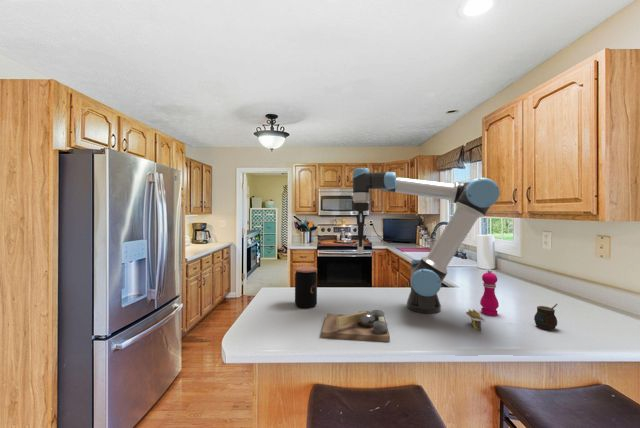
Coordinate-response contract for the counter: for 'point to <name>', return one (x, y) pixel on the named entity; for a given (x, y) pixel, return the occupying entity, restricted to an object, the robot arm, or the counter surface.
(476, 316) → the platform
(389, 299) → the counter surface
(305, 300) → the coffee jar
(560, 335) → the counter surface
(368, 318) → the ball-head mallet
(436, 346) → the counter surface
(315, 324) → the counter surface
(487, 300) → the pepper mill
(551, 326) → the mate gourd
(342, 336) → the instrument base
